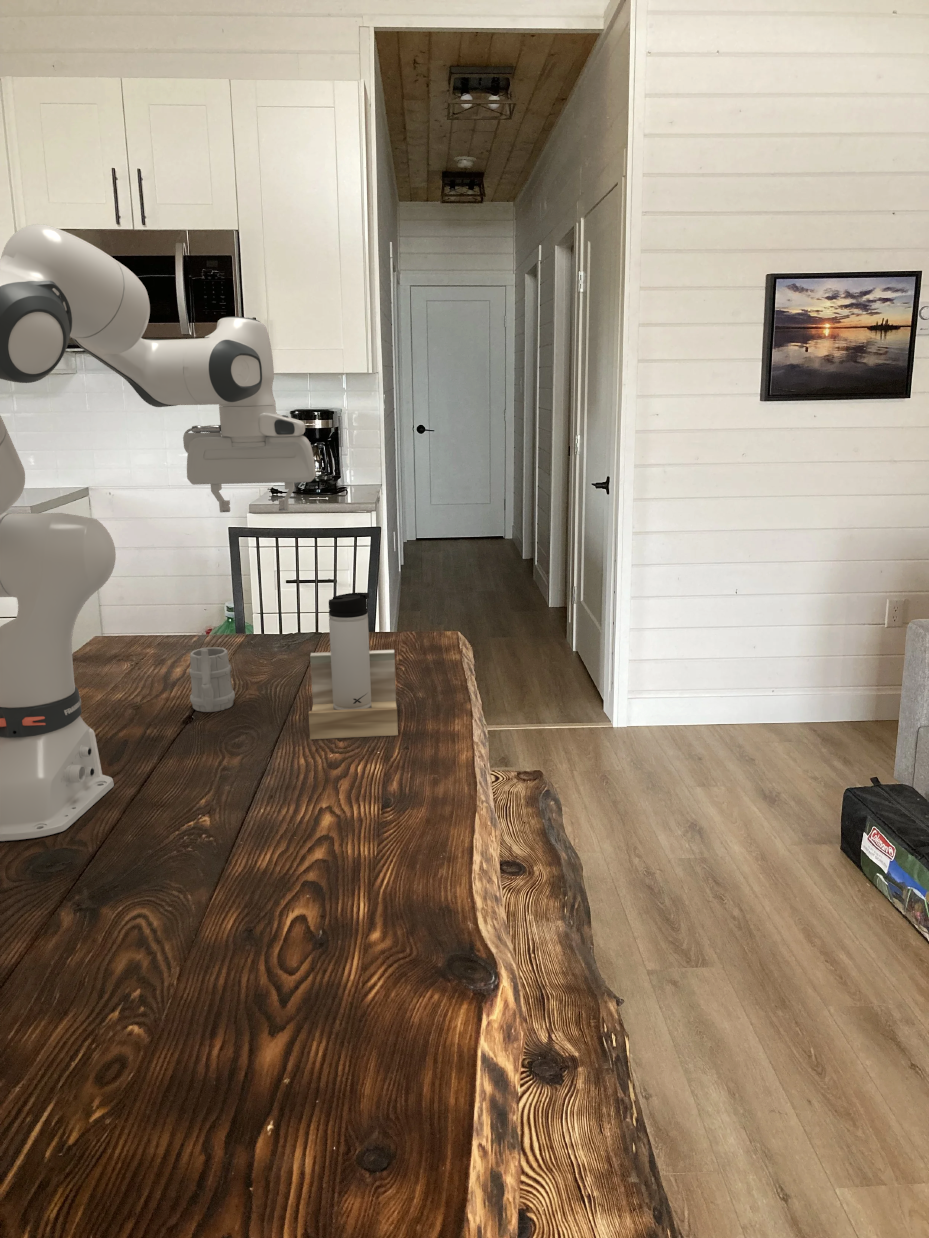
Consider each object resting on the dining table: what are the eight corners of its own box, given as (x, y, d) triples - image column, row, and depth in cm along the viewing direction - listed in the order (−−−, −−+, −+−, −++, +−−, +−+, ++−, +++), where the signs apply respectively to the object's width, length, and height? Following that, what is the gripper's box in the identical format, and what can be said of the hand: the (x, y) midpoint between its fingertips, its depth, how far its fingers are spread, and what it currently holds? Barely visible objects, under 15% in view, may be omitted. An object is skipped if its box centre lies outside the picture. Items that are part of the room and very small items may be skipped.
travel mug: (367, 719, 152) (362, 598, 148) (328, 716, 154) (322, 596, 149) (378, 706, 158) (373, 589, 154) (340, 704, 160) (335, 588, 155)
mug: (236, 697, 172) (232, 633, 169) (231, 719, 160) (226, 651, 157) (193, 699, 170) (187, 635, 168) (185, 722, 159) (179, 653, 156)
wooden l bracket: (397, 735, 152) (395, 669, 149) (310, 739, 151) (306, 673, 148) (396, 710, 163) (394, 649, 161) (314, 714, 162) (310, 652, 159)
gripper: (178, 426, 147) (185, 515, 150) (311, 424, 148) (315, 512, 152) (185, 424, 153) (193, 510, 156) (313, 422, 154) (318, 507, 158)
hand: (254, 511), depth 154 cm, fingers open, 8 cm apart
